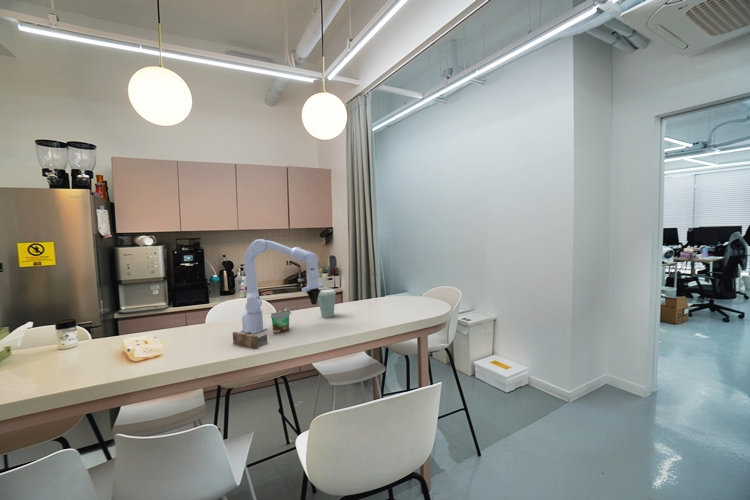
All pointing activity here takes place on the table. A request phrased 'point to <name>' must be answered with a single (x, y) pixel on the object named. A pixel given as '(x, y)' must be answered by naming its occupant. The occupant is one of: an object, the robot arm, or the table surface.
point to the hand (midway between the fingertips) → (314, 304)
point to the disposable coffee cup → (327, 302)
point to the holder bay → (249, 340)
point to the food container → (280, 321)
